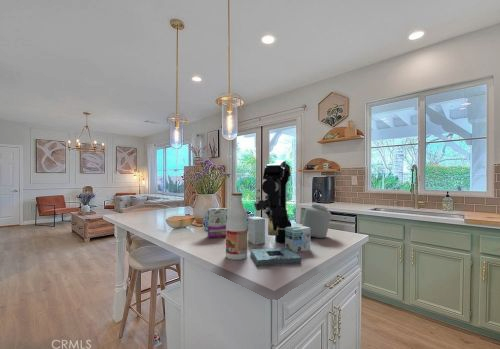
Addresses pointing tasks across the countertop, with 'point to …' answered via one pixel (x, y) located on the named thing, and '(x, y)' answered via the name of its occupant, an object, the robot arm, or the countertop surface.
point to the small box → (256, 230)
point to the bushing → (271, 228)
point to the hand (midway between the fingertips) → (273, 229)
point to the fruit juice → (236, 229)
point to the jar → (317, 220)
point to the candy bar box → (217, 222)
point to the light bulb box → (297, 238)
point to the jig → (275, 256)
